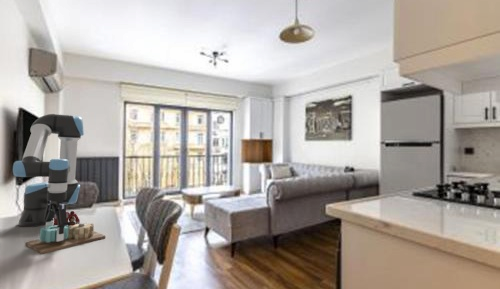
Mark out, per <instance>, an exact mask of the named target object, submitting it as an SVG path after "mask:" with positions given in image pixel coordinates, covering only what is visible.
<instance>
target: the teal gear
mask: <svg viewBox="0 0 500 289" xmlns="http://www.w3.org/2000/svg"><path fill="white" fill-rule="evenodd" d="M57 226H58V225H55V226H52V225H50V226H48V227H46V226H45V227H41V228H40V231H39V241H40V242H42V241H46V243H47V242H51V241H56V235H57V229H54V228H57ZM68 228H69V227H68V225H67V226H64V239H67V238H68Z"/></svg>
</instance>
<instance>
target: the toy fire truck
mask: <svg viewBox="0 0 500 289" xmlns="http://www.w3.org/2000/svg"><path fill="white" fill-rule="evenodd" d="M66 216H67V225H68V227H69V226H73V225H75V224H81V223H80V221H81V220H80V218H79V216H78V215H77V213H75V211H74V210H71V211H70V212H69V211H66ZM55 225H58V223H57V218H56V214H54V217H53V226H55ZM68 229H69V228H68Z"/></svg>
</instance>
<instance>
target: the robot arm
mask: <svg viewBox="0 0 500 289" xmlns="http://www.w3.org/2000/svg"><path fill="white" fill-rule="evenodd" d="M83 123H84V122H83V118H82V117H81V116H78V115H69V114H55V113H48V114H45V115H43V116H40V117H38V118H37V119H36V120H34V122H33V123H32V124H31V127H30V130H29V131H30V133H31V134H30V136H29V139H28V141H27V145H26V148H25V150H24V152H23V156H22V159H21V160H16V161H14V162H13V165H12V173H13V175H14V177H18V178H19V177H21V178H32V177H33V178H38V177H39V178H41V177H43V178H47V177H48V181H47V182H39V183H32V184H28V185H27V186H26V187H25V188H24V194H23V195H24V198H23V199H24V200H23V212H22V213H21V216H20V218H19V220H18V226H19V227H25V228H26V227H28V228H30V227H32V228H33V227H39V226H45V227H48V226H50V225H52V226H53V225H54V218H53V217H54V214H56V218H57V223H58V226H57V235H56V242H58V241H62V240H63V239H64V226H67V216H66V212H67V205H69V204H70V205H72V204H76V203H77V200H78V198H79V193H80V189H81V184H79V182H78V180H77V179H76V171H77V170H76V169H77V156H78V155H77V154H78V153H77V152H78V142H79V141H80V140H81V138H82V136H84V134H85V133H84V124H83ZM52 134H55V135H57V138H58V139H59V140H60V144H59V145H60V148H59V158H51V159H50V160H49V161H42V160H43V156H44V153H45V148H46V146H47V145H46V144H47V141H48V139H49V136H51V135H52Z"/></svg>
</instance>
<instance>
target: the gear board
mask: <svg viewBox="0 0 500 289" xmlns="http://www.w3.org/2000/svg"><path fill="white" fill-rule="evenodd" d="M94 228H95V226H94V223H87V222H83V223H79V224H75V225H73V226H69V229H68V238H67V239H63V240H62V241H58V242H56V241H51V242H47V243H46V241H42V242H40V241H39V239H40V238H39V239H35V240H34V239H33V240H31V241H30V240H29V241H26V242H25V246H27V247H29V249H32V250H34V251H35V252H37V253H38V254H40V255H42V254H47V253H50V252H55V251H58V250H62V249H67V248H71V247H75V246H78V245H84V244H87V243H90V242H91V243H92V242H94V241H98V240H99V241H100V240H103V239H106V235H104V234H102V233H101V232H97V231H95V229H94ZM54 229H57V228H54Z"/></svg>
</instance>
